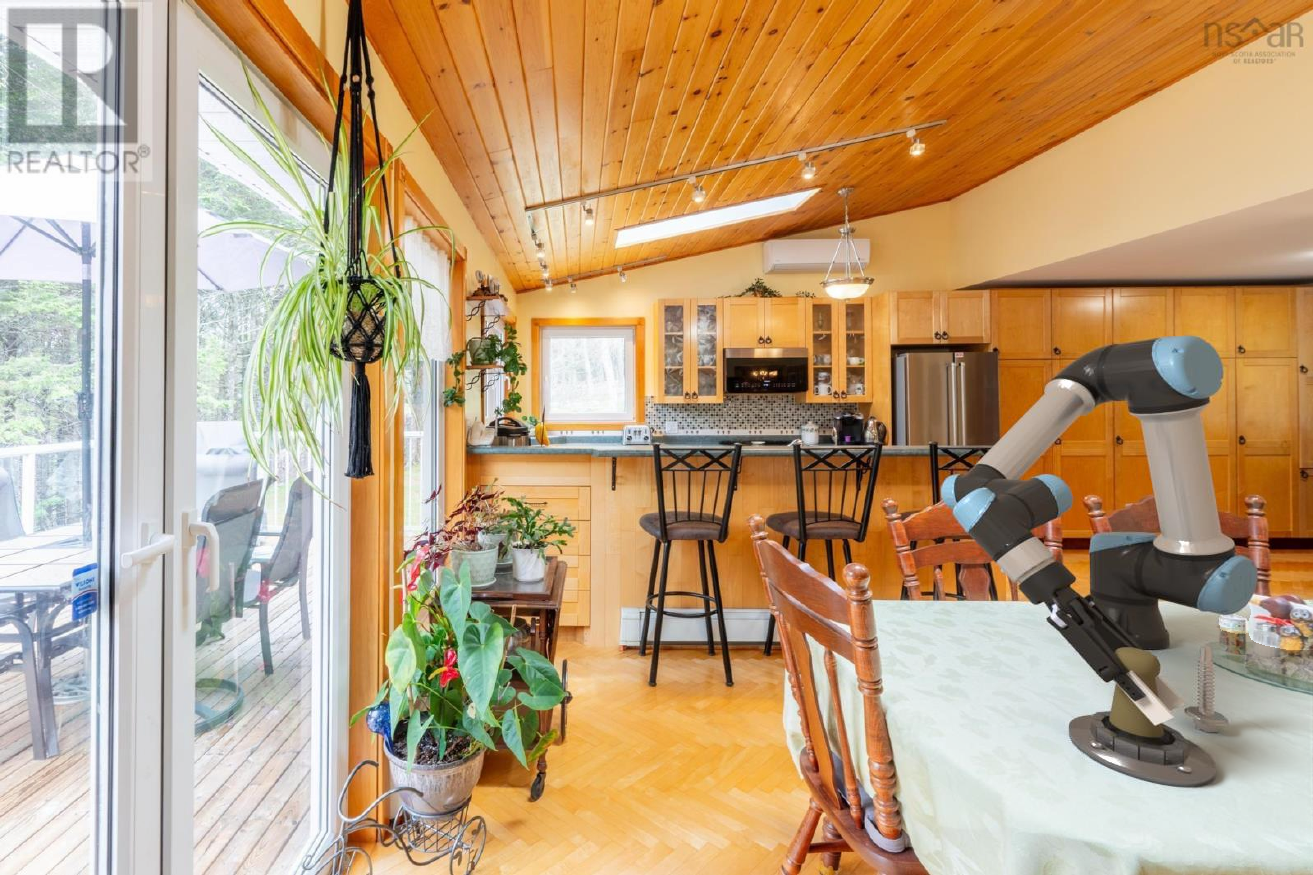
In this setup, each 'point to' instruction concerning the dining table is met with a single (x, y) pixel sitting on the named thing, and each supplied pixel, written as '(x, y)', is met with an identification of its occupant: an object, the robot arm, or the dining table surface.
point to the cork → (1123, 707)
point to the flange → (1143, 752)
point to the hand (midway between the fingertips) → (1170, 713)
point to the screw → (1206, 696)
